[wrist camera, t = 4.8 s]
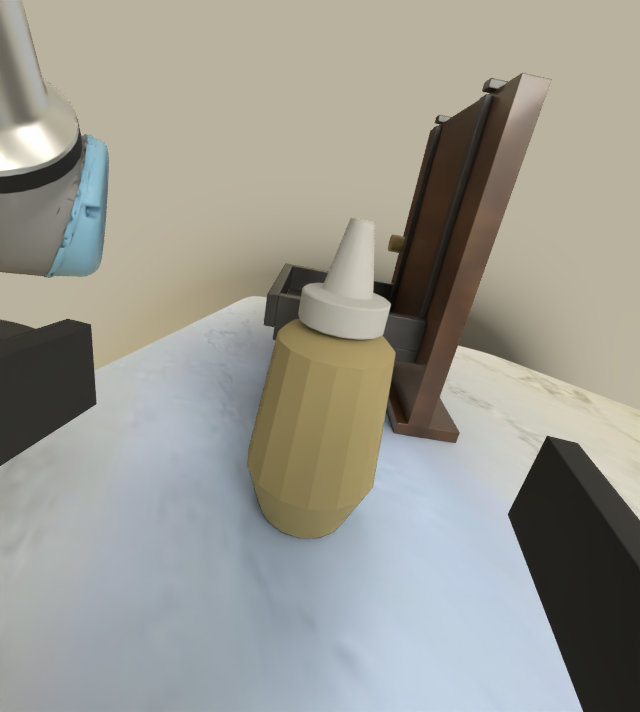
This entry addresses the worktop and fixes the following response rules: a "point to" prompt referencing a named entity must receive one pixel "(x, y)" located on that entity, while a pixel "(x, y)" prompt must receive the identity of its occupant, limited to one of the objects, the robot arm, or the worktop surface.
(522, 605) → the worktop surface
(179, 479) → the worktop surface
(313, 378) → the squeeze bottle
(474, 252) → the door rack
